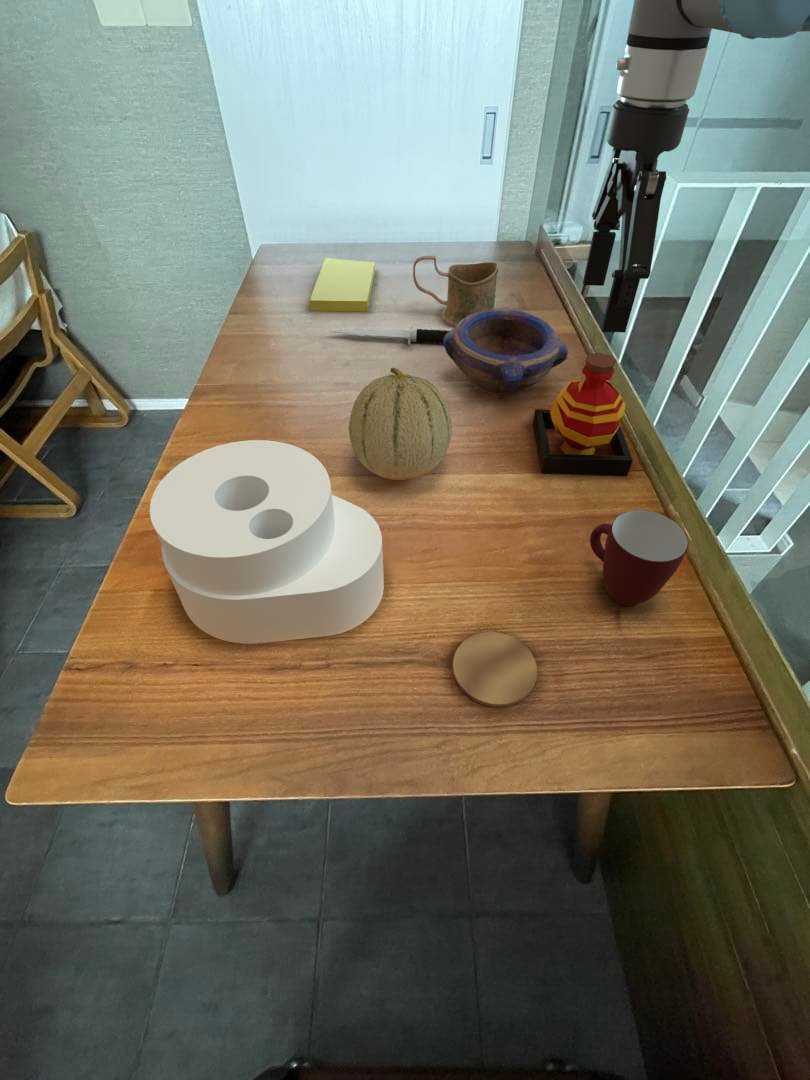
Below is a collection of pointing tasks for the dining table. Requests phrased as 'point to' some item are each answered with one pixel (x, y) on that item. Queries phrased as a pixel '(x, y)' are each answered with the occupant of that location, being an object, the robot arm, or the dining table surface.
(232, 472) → the white stepped block
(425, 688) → the dining table surface
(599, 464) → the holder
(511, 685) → the coaster
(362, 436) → the cantaloupe
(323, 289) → the yellow flat block
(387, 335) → the knife
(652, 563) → the mug
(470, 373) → the bowl
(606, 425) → the potion bottle
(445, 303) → the mug
